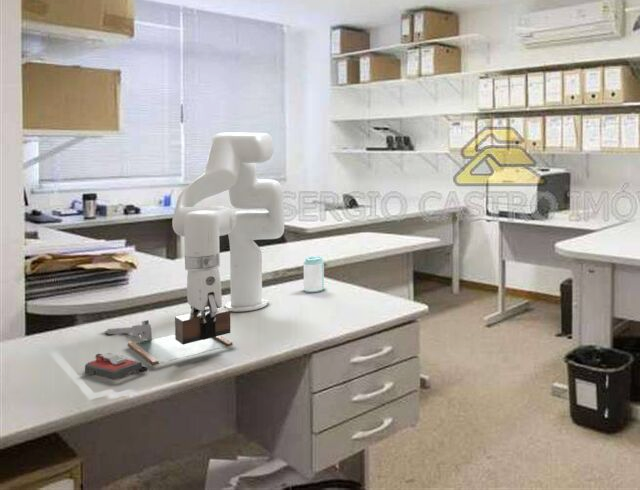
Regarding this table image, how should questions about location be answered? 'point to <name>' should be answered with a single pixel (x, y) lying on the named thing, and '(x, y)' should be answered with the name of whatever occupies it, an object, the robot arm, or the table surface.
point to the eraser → (191, 325)
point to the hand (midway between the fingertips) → (203, 334)
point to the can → (313, 274)
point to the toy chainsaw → (113, 366)
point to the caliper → (134, 330)
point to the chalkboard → (175, 348)
